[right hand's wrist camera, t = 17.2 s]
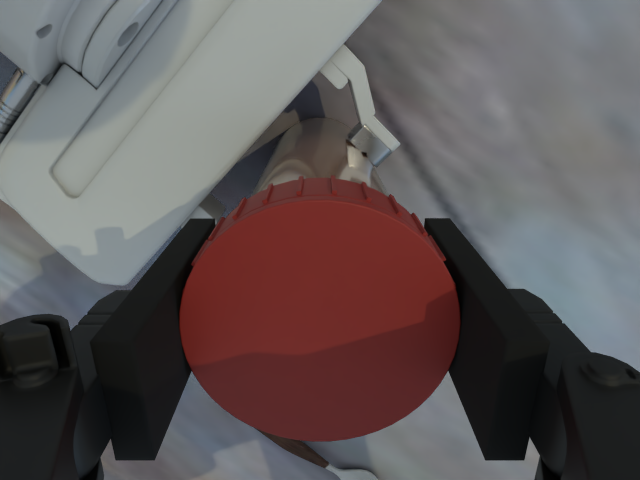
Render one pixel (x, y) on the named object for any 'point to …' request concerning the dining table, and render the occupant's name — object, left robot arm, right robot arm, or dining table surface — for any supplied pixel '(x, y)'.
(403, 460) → the dining table surface
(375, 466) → the dining table surface
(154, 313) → the right robot arm
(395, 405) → the lid
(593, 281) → the dining table surface
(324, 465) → the fork
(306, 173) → the jar
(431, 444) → the dining table surface
